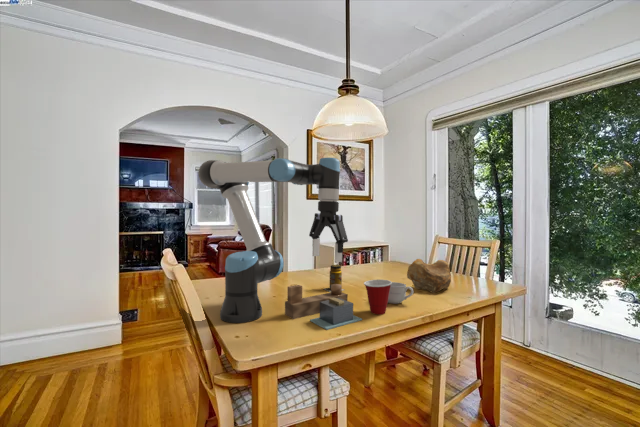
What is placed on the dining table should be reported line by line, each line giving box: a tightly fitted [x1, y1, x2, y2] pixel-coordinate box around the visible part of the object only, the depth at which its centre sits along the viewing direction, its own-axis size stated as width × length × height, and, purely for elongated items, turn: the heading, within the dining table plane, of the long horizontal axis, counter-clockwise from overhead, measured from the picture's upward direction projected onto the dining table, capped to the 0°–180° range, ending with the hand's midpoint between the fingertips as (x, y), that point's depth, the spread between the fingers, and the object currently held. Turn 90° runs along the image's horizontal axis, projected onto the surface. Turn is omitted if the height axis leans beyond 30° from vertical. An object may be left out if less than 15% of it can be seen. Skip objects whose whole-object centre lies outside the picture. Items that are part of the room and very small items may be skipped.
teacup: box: [387, 281, 414, 304], centre depth 133 cm, size 14×11×8 cm
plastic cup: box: [363, 279, 393, 315], centre depth 120 cm, size 11×11×12 cm
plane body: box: [284, 284, 349, 320], centre depth 122 cm, size 26×6×11 cm, turn 126°
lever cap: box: [319, 298, 354, 325], centre depth 111 cm, size 9×8×7 cm
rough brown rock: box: [406, 258, 452, 294], centre depth 155 cm, size 23×17×15 cm
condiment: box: [323, 264, 345, 293], centre depth 154 cm, size 7×8×12 cm
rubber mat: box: [309, 314, 363, 331], centre depth 111 cm, size 16×10×1 cm, turn 126°
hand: (326, 258), depth 113 cm, fingers open, 13 cm apart
